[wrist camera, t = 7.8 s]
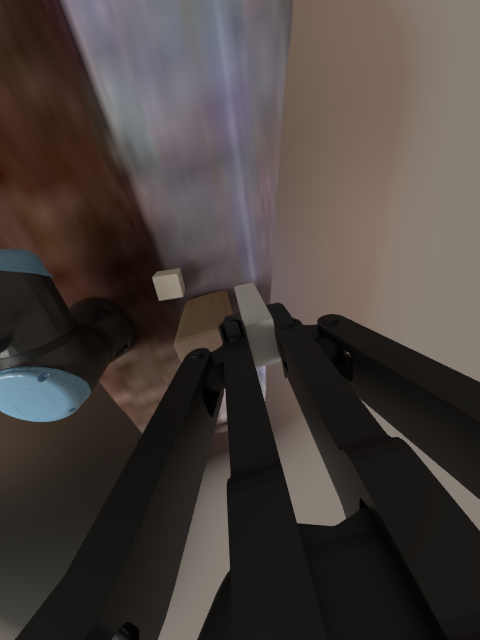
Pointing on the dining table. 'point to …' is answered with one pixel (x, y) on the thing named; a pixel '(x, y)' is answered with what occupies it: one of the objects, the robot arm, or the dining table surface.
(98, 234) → the dining table surface
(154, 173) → the dining table surface
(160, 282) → the cream cube
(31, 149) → the dining table surface
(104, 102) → the dining table surface
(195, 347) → the wooden block
